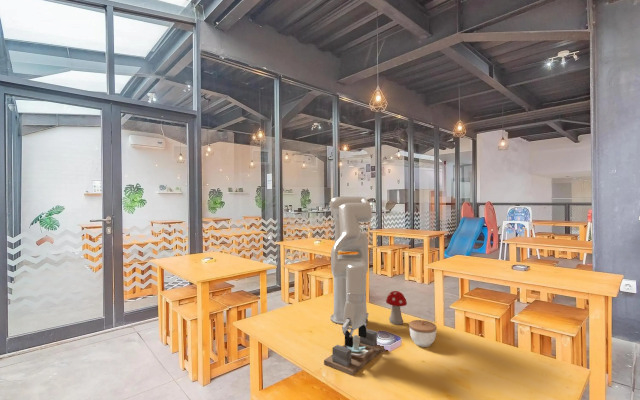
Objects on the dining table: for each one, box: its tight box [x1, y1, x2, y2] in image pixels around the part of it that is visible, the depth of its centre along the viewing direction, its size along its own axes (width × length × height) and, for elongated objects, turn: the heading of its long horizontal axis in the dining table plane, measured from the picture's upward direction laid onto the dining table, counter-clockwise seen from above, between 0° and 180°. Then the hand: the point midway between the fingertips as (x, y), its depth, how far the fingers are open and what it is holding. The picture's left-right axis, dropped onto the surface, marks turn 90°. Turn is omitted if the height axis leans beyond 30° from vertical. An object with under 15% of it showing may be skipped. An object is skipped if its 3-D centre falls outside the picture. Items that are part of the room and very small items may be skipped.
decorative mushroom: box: [385, 290, 408, 326], centre depth 158 cm, size 10×9×15 cm
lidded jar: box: [408, 319, 438, 348], centre depth 136 cm, size 11×11×9 cm
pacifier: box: [347, 334, 366, 356], centre depth 125 cm, size 7×6×6 cm
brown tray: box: [323, 328, 385, 376], centre depth 125 cm, size 24×12×6 cm, turn 143°
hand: (355, 341), depth 126 cm, fingers open, 9 cm apart
